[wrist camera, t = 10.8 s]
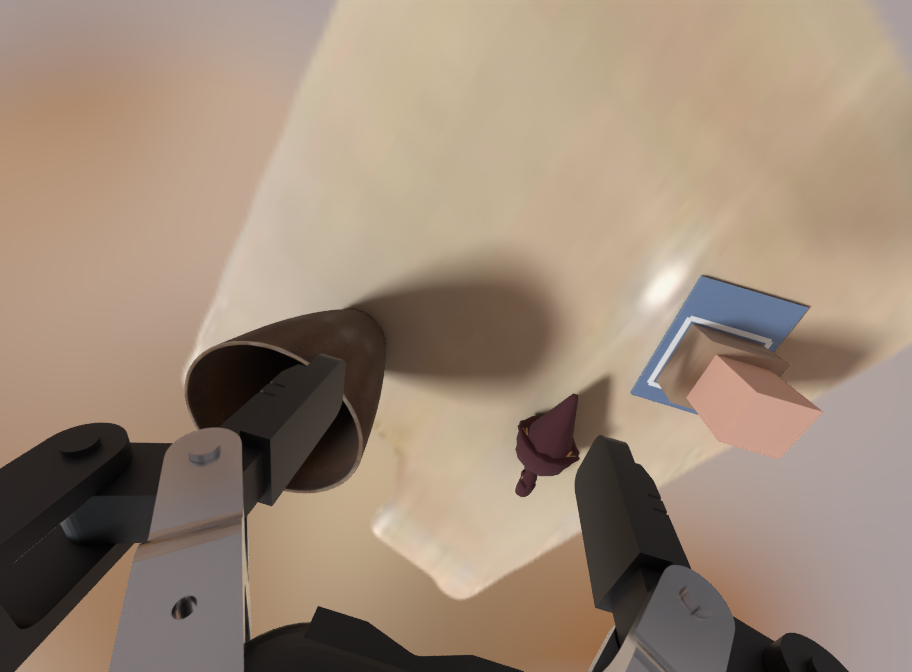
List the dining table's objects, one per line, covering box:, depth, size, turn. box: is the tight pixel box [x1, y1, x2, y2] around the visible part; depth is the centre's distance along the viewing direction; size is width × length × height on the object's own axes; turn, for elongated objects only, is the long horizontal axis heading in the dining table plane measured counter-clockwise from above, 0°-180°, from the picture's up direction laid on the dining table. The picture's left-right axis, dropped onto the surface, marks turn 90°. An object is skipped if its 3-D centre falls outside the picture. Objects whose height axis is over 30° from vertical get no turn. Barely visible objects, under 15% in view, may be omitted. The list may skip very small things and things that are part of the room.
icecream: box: [515, 394, 580, 497], centre depth 40 cm, size 7×7×15 cm
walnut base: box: [656, 324, 790, 410], centre depth 34 cm, size 7×7×4 cm
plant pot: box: [185, 309, 385, 493], centre depth 35 cm, size 15×15×16 cm
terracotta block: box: [687, 355, 823, 459], centre depth 30 cm, size 5×5×6 cm
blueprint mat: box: [631, 276, 808, 415], centre depth 36 cm, size 14×10×1 cm
